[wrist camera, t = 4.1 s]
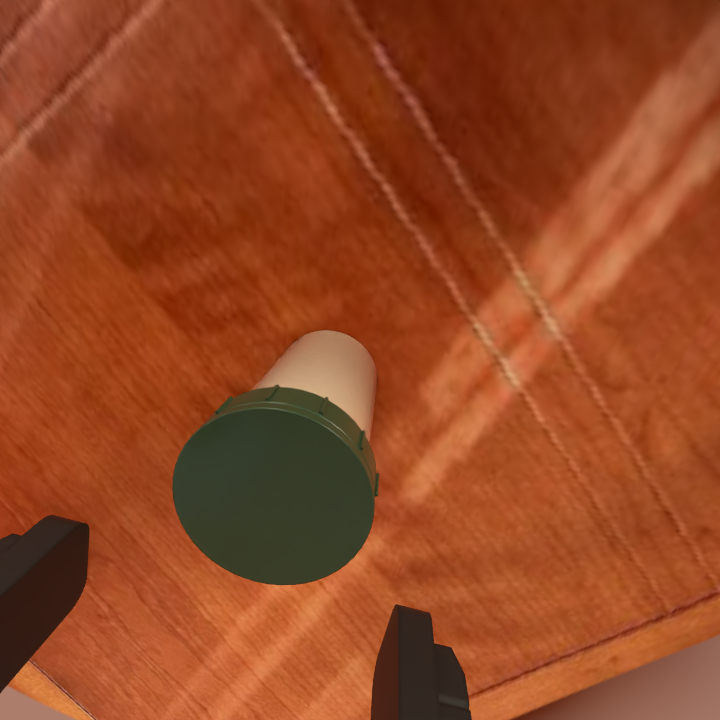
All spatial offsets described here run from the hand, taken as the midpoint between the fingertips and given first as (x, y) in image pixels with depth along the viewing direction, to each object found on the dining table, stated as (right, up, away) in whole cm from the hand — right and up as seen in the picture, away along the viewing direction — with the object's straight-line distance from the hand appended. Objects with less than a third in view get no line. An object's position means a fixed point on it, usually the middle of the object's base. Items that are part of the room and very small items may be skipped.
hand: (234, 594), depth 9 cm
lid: (0, +1, +3) cm, 4 cm away
